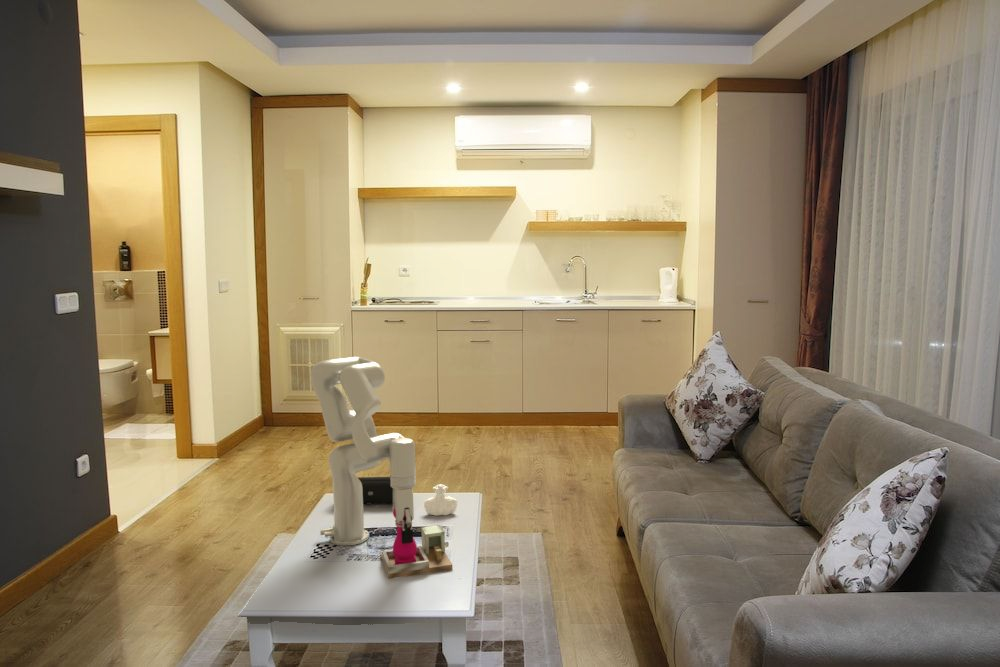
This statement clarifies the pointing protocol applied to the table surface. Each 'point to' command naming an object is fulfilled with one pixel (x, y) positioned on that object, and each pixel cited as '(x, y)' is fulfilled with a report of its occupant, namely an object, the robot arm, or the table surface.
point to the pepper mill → (403, 546)
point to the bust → (440, 502)
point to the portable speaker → (376, 490)
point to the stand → (416, 563)
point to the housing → (433, 538)
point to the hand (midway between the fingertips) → (404, 537)
